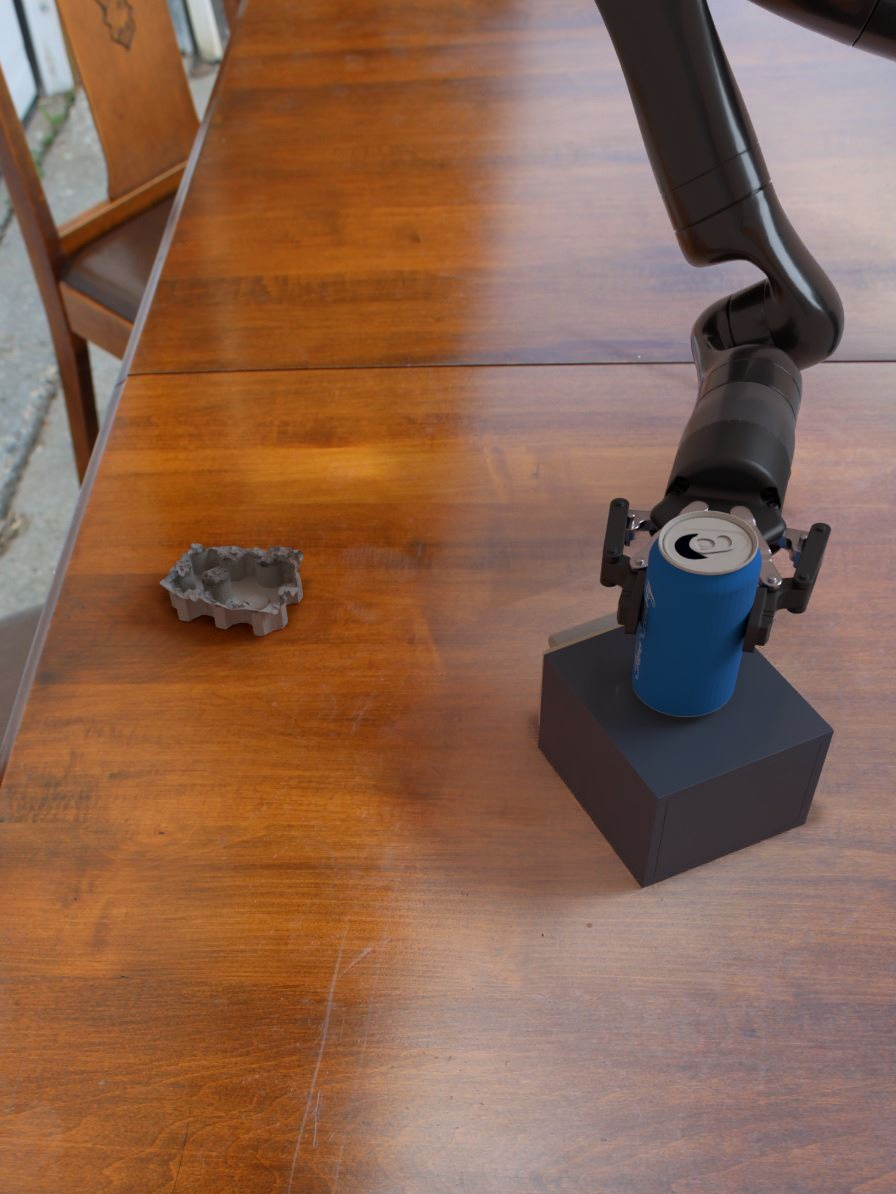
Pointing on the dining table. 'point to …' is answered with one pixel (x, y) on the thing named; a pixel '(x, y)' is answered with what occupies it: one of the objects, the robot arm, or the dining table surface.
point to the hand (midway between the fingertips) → (690, 632)
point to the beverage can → (695, 612)
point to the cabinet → (678, 758)
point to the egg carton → (236, 585)
